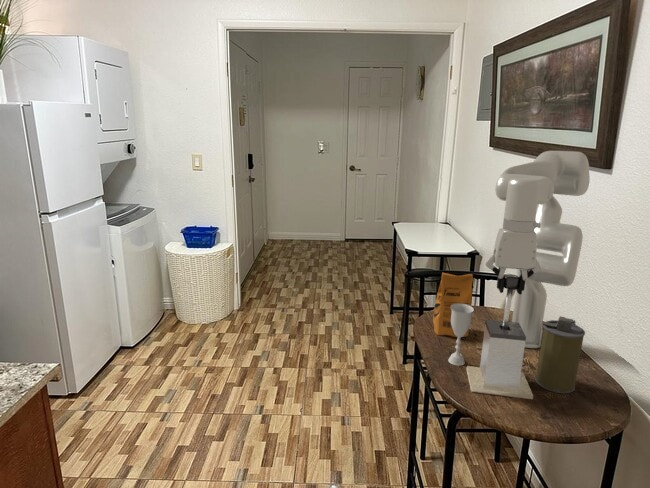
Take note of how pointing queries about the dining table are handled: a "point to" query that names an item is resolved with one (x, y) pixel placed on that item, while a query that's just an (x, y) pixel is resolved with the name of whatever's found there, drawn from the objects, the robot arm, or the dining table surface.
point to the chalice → (459, 328)
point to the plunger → (509, 296)
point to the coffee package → (451, 301)
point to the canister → (559, 355)
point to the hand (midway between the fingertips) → (509, 291)
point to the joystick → (501, 362)
